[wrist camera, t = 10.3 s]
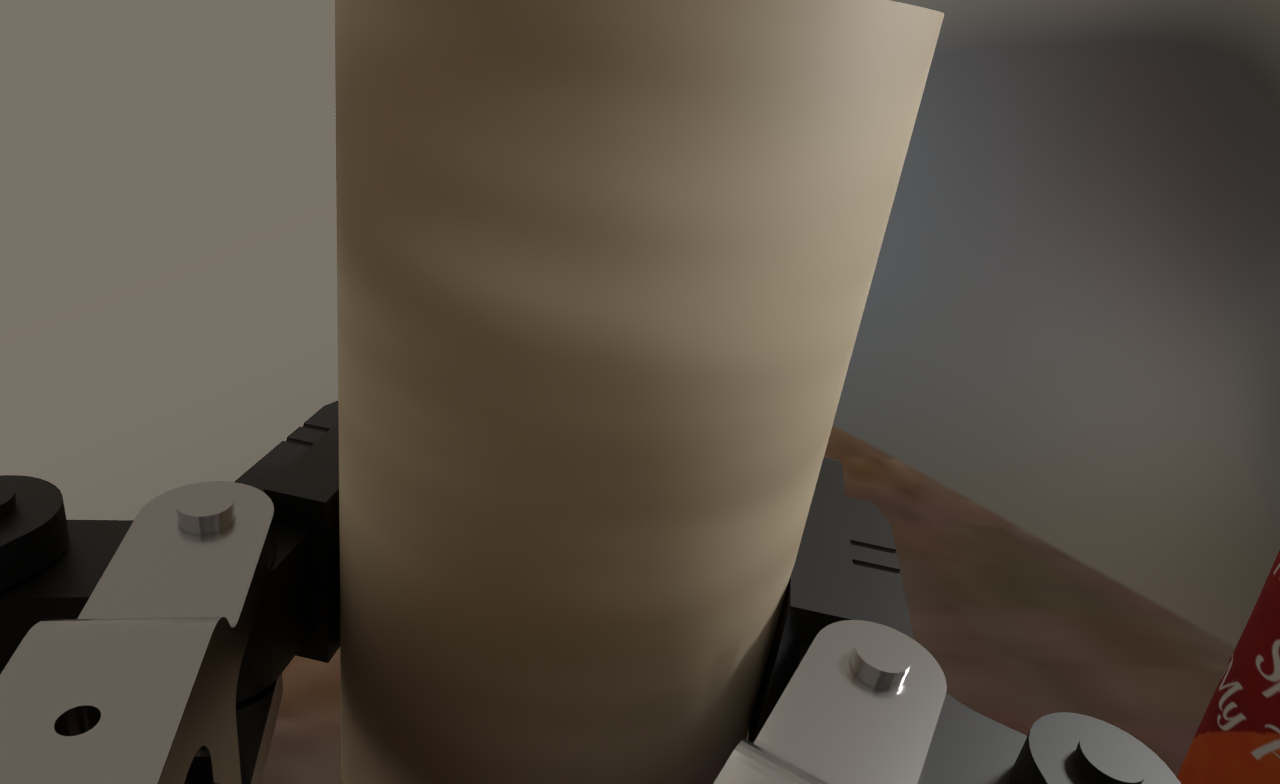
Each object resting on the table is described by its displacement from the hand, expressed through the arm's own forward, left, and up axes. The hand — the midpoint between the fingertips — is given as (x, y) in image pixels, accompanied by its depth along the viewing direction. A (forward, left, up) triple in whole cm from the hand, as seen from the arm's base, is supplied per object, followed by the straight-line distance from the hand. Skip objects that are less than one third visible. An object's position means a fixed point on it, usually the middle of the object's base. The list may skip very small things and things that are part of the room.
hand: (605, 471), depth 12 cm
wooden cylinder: (0, +3, -7) cm, 8 cm away
